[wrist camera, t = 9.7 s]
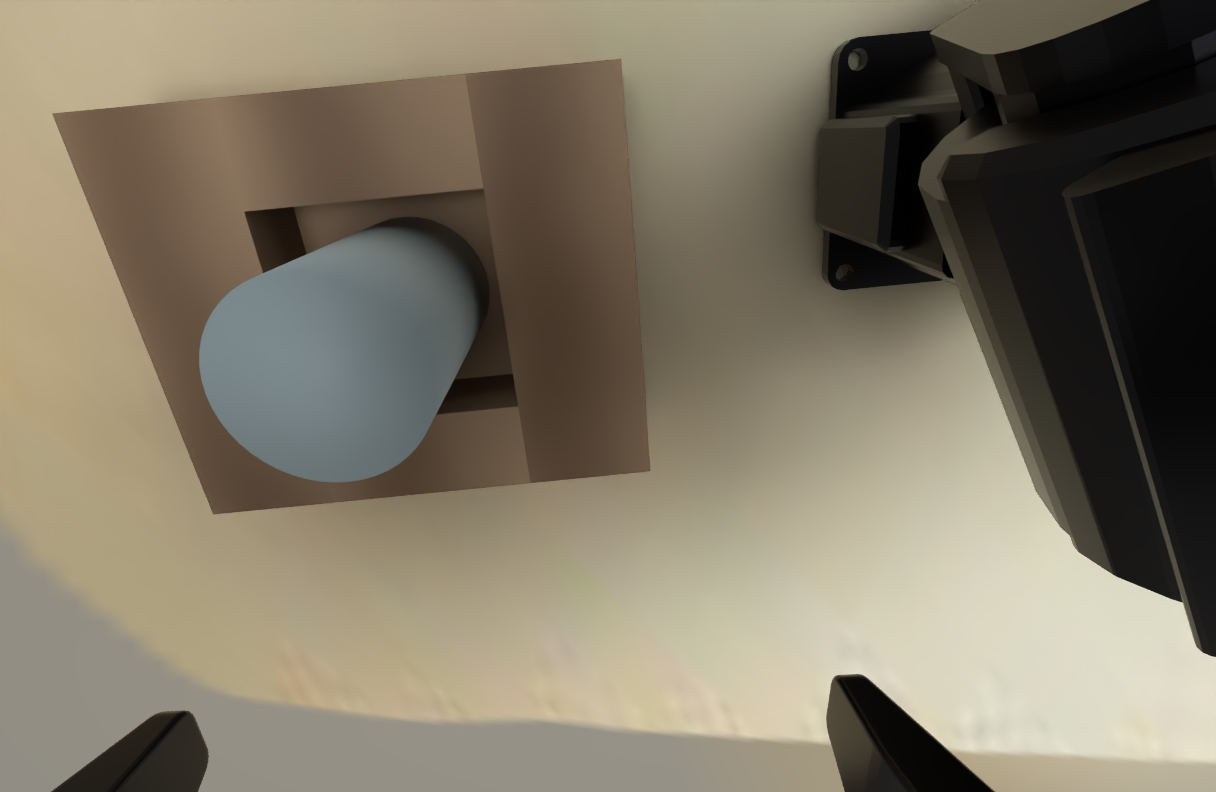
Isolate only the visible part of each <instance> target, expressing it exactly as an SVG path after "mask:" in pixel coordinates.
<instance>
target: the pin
mask: <svg viewBox="0 0 1216 792" xmlns="http://www.w3.org/2000/svg"><path fill="white" fill-rule="evenodd" d="M489 294H490V293H489V283H488V279H487V275H486V272H485V269H484V266H483V264H482V262H481V260H480V259H479V257H478V255H477V254H476V252H475V251H474V249H473V248H472V247H471V246H470V245H469V244H468V242H467V241H466V240H465V239H463V238H462V237H461V236H460V235H459V234H458V233H456V232H455V231H453V230H452V229H450V228H449V227H447V226H445V225H443V224H441V223H438V222H436V221H433V220H430V219H425V218H421V217H397V218H392V219H388V220H385V221H382V222H380V223H378V224H375V225H373V226H371V227H369V228H366V229H364V230H362V231H359V232H357V233H355V234H352V235H350V236H348V237H346V238H343V239H341V240H339V241H336V242H334V243H332V244H329V245H327V246H325V247H323V248H320V249H318V250H316V251H313V252H311V253H309V254H306V255H304V256H302V257H300V258H297V259H295V260H293V261H290V262H288V263H286V264H283V265H281V266H279V267H277V268H274V269H272V270H270V271H267V272H265V273H263V274H260V275H258V276H256V277H254V278H252V279H250V280H248V281H246V282H244V283H242V284H240V285H239V286H237V287H236V288H235V289H233V290H232V291H230V292H229V293H228V294H227V295H226V296H225V297H224V298H223V299H222V300H221V301H220V302H219V304H218V305H217V306H216V308H215V309H214V310H213V312H212V313H211V315H210V317H209V319H208V321H207V323H206V325H205V328H204V331H203V334H202V337H201V343H200V350H199V367H200V374H201V380H202V384H203V387H204V390H205V394H206V396H207V398H208V401H209V403H210V405H211V407H212V409H213V411H214V412H215V414H216V416H217V417H218V419H219V421H220V422H221V423H222V425H223V426H224V427H225V428H226V430H227V431H228V432H229V433H230V434H231V435H232V437H233V438H234V439H235V440H236V441H237V442H238V443H239V444H240V445H242V446H243V447H244V448H245V449H246V450H248V451H249V452H250V453H251V454H253V455H254V456H256V457H257V458H259V459H260V460H262V461H263V462H265V463H267V464H269V465H271V466H273V467H274V468H276V469H278V470H281V471H283V472H286V473H288V474H291V475H294V476H297V477H301V478H304V479H309V480H315V481H321V482H351V481H358V480H363V479H367V478H370V477H374V476H377V475H379V474H381V473H384V472H386V471H388V470H390V469H392V468H393V467H395V466H397V465H398V464H400V463H401V462H402V461H403V460H405V459H406V458H407V457H408V456H409V455H410V454H411V453H412V452H413V451H414V450H415V449H416V448H417V447H418V445H419V444H420V442H421V441H422V439H423V438H424V437H425V435H426V433H427V431H428V429H429V427H430V425H431V423H432V421H433V419H434V417H435V415H436V413H437V411H438V409H439V408H440V406H441V404H442V402H443V400H444V398H445V396H446V394H447V392H448V390H449V388H450V386H451V384H452V382H453V380H454V379H455V377H456V375H457V373H458V371H459V369H460V367H461V365H462V363H463V361H464V359H465V357H466V355H467V353H468V352H469V350H470V348H471V346H472V344H473V342H474V340H475V338H476V336H477V334H478V332H479V330H480V328H481V326H482V324H483V322H484V320H485V318H486V314H487V311H488V306H489Z"/></svg>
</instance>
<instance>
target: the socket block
mask: <svg viewBox="0 0 1216 792" xmlns="http://www.w3.org/2000/svg"><path fill="white" fill-rule="evenodd" d="M53 117H54V119H55V122H56V124H57V127H58V129H59V132H60V134H61V137H62V139H63V142H64V144H65V147H66V149H67V152H68V154H69V157H70V159H71V161H72V164H73V166H74V169H75V171H76V174H77V176H78V179H79V181H80V184H81V186H82V189H83V191H84V194H85V196H86V199H87V201H88V204H89V206H90V209H91V211H92V214H93V216H94V219H95V221H96V224H97V226H98V229H99V231H100V234H101V236H102V239H103V241H104V244H105V246H106V249H107V251H108V254H109V256H110V259H111V261H112V263H113V266H114V268H115V271H116V273H117V276H118V278H119V281H120V283H121V286H122V288H123V291H124V293H125V296H126V298H127V301H128V303H129V306H130V308H131V311H132V313H133V316H134V318H135V321H136V323H137V326H138V328H139V331H140V333H141V336H142V338H143V341H144V343H145V346H146V348H147V351H148V353H149V356H150V358H151V361H152V363H153V365H154V368H155V370H156V373H157V375H158V378H159V380H160V383H161V385H162V388H163V390H164V393H165V395H166V398H167V400H168V403H169V405H170V408H171V410H172V413H173V415H174V418H175V420H176V423H177V425H178V428H179V430H180V433H181V435H182V438H183V440H184V443H185V445H186V448H187V450H188V453H189V455H190V458H191V460H192V463H193V465H194V468H195V470H196V472H197V475H198V477H199V480H200V482H201V485H202V487H203V490H204V492H205V495H206V497H207V500H208V502H209V505H210V507H211V510H212V512H213V514H222V513H232V512H242V511H252V510H262V509H272V508H282V507H293V506H303V505H313V504H323V503H333V502H343V501H353V500H363V499H373V498H384V497H394V496H404V495H414V494H424V493H434V492H444V491H454V490H464V489H474V488H485V487H495V486H505V485H515V484H525V483H535V482H545V481H555V480H565V479H575V478H586V477H596V476H606V475H616V474H626V473H636V472H646V471H650V460H649V446H648V432H647V418H646V404H645V390H644V376H643V362H642V348H641V334H640V320H639V306H638V291H637V277H636V263H635V249H634V235H633V221H632V207H631V193H630V179H629V165H628V151H627V137H626V123H625V109H624V95H623V81H622V66H621V59H616V60H605V61H595V62H585V63H574V64H564V65H553V66H543V67H533V68H522V69H512V70H501V71H491V72H480V73H470V74H460V75H449V76H439V77H428V78H418V79H408V80H397V81H387V82H376V83H366V84H356V85H345V86H335V87H324V88H314V89H304V90H293V91H283V92H272V93H262V94H252V95H241V96H231V97H220V98H210V99H200V100H189V101H179V102H168V103H158V104H147V105H137V106H127V107H116V108H106V109H95V110H85V111H75V112H64V113H54V114H53ZM397 217H421V218H425V219H430V220H433V221H436V222H438V223H441V224H443V225H445V226H447V227H449V228H450V229H452V230H453V231H455V232H456V233H458V234H459V235H460V236H461V237H462V238H463V239H465V240H466V241H467V242H468V244H469V245H470V246H471V247H472V248H473V249H474V251H475V252H476V254H477V255H478V257H479V259H480V260H481V262H482V264H483V266H484V269H485V272H486V275H487V279H488V283H489V293H490V294H489V306H488V311H487V314H486V318H485V320H484V322H483V324H482V326H481V328H480V330H479V332H478V334H477V336H476V338H475V340H474V342H473V344H472V346H471V348H470V350H469V352H468V353H467V355H466V357H465V359H464V361H463V363H462V365H461V367H460V369H459V371H458V373H457V375H456V377H455V379H454V380H453V382H452V384H451V386H450V388H449V390H448V392H447V394H446V396H445V398H444V400H443V402H442V404H441V406H440V408H439V409H438V411H437V413H436V415H435V417H434V419H433V421H432V423H431V425H430V427H429V429H428V431H427V433H426V435H425V437H424V438H423V439H422V441H421V442H420V444H419V445H418V447H417V448H416V449H415V450H414V451H413V452H412V453H411V454H410V455H409V456H408V457H407V458H406V459H405V460H403V461H402V462H401V463H400V464H398V465H397V466H395V467H393V468H392V469H390V470H388V471H386V472H384V473H381V474H379V475H377V476H374V477H370V478H367V479H363V480H358V481H351V482H321V481H315V480H309V479H304V478H301V477H297V476H294V475H291V474H288V473H286V472H283V471H281V470H278V469H276V468H274V467H273V466H271V465H269V464H267V463H265V462H263V461H262V460H260V459H259V458H257V457H256V456H254V455H253V454H251V453H250V452H249V451H248V450H246V449H245V448H244V447H243V446H242V445H240V444H239V443H238V442H237V441H236V440H235V439H234V438H233V437H232V435H231V434H230V433H229V432H228V431H227V430H226V428H225V427H224V426H223V425H222V423H221V422H220V421H219V419H218V417H217V416H216V414H215V412H214V411H213V409H212V407H211V405H210V403H209V401H208V398H207V396H206V394H205V390H204V387H203V384H202V380H201V374H200V367H199V350H200V343H201V337H202V334H203V331H204V328H205V325H206V323H207V321H208V319H209V317H210V315H211V313H212V312H213V310H214V309H215V308H216V306H217V305H218V304H219V302H220V301H221V300H222V299H223V298H224V297H225V296H226V295H227V294H228V293H229V292H230V291H232V290H233V289H235V288H236V287H237V286H239V285H240V284H242V283H244V282H246V281H248V280H250V279H252V278H254V277H256V276H258V275H260V274H263V273H265V272H267V271H270V270H272V269H274V268H277V267H279V266H281V265H283V264H286V263H288V262H290V261H293V260H295V259H297V258H300V257H302V256H304V255H306V254H309V253H311V252H313V251H316V250H318V249H320V248H323V247H325V246H327V245H329V244H332V243H334V242H336V241H339V240H341V239H343V238H346V237H348V236H350V235H352V234H355V233H357V232H359V231H362V230H364V229H366V228H369V227H371V226H373V225H375V224H378V223H380V222H382V221H385V220H388V219H392V218H397Z"/></svg>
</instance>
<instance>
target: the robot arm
mask: <svg viewBox="0 0 1216 792" xmlns="http://www.w3.org/2000/svg"><path fill="white" fill-rule="evenodd" d="M853 50H854V51H857V52H858V53H859V54H860V56H861V63H860V66H859V67H858V68H857V70H856V71H855V70H852V69H851V68H850V67H849V65H848V57H849V54H850V53H851V52H852V51H853ZM816 221H817V223H818V224H819V225H820V226H821V227H822V228H823V229H824V251H823V278H824V280H825V281H826V283H827V284H829V285H831V286H832V287H834V288H836V289H839V290H848V289H859V288H869V287H879V286H889V285H900V284H910V283H920V282H930V281H940V280H945V281H948V282H950V283H953V284H955V285H957V287H958V290H959V292H960V295H961V298H962V300H963V303H964V305H965V308H966V311H967V313H968V316H969V318H970V321H971V324H972V326H973V329H974V331H975V334H976V337H977V339H978V342H979V344H980V347H981V350H982V352H983V355H984V357H985V360H986V362H987V365H988V368H989V370H990V373H991V375H992V378H993V381H994V383H995V386H996V388H997V391H998V394H999V396H1000V399H1001V401H1002V404H1003V407H1004V409H1005V412H1006V414H1007V417H1008V420H1009V422H1010V425H1011V427H1012V430H1013V432H1014V435H1015V438H1016V440H1017V443H1018V445H1019V448H1020V451H1021V453H1022V456H1023V458H1024V461H1025V464H1026V466H1027V469H1028V471H1029V474H1030V477H1031V479H1032V482H1033V484H1034V487H1035V490H1036V492H1037V494H1038V495H1039V496H1040V498H1041V499H1042V501H1043V502H1044V504H1045V505H1046V507H1047V508H1048V510H1049V511H1050V513H1051V514H1052V515H1053V517H1054V518H1055V520H1056V521H1057V523H1058V524H1059V526H1060V527H1061V528H1062V529H1063V530H1064V531H1065V532H1067V533H1068V534H1069V535H1070V537H1071V540H1072V543H1073V545H1074V547H1075V548H1076V549H1077V551H1078V552H1079V553H1081V554H1082V555H1084V556H1085V557H1087V558H1089V559H1090V560H1092V561H1093V562H1095V563H1096V564H1098V565H1099V566H1101V567H1102V568H1104V569H1105V570H1107V571H1108V572H1110V573H1112V574H1113V575H1115V576H1117V577H1119V578H1121V579H1124V580H1126V581H1129V582H1131V583H1134V584H1136V585H1138V586H1141V587H1143V588H1146V589H1148V590H1151V591H1153V592H1156V593H1158V594H1160V595H1163V596H1165V597H1168V598H1170V599H1173V600H1176V601H1180V602H1183V604H1184V608H1185V611H1186V614H1187V618H1188V621H1189V625H1190V628H1191V631H1192V635H1193V638H1194V641H1195V644H1196V646H1197V648H1199V649H1200V650H1201V651H1202V652H1203V653H1205V654H1208V655H1210V656H1214V657H1216V0H979V1H978V2H976V3H974V4H973V5H971V6H970V7H968V8H966V9H965V10H963V11H962V12H960V13H959V14H957V15H955V16H954V17H952V18H951V19H949V20H948V21H946V22H944V23H943V24H941V25H940V26H938V27H937V28H935V29H934V30H929V31H919V32H908V33H898V34H888V35H877V36H867V37H858V38H855V39H852V40H849V41H846V42H844V43H843V44H842V45H841V46H840V47H839V48H838V49H837V51H836V53H835V54H834V58H833V63H832V82H831V103H830V120H828V121H827V122H826V124H825V125H824V126H823V127H822V128H821V130H820V141H819V165H818V189H817V212H816ZM844 264H846V265H847V267H848V271H847V274H846V275H845V276H844V277H843V278H840V279H837V278H836V271H837V269H838V268H839V267H840V266H841V265H844ZM826 720H827V729H828V734H829V738H830V741H831V745H832V748H833V752H834V755H835V758H836V762H837V766H838V769H839V773H840V776H841V780H842V783H843V787H844V791H845V792H995V791H994V790H993V789H991V788H990V787H989V786H988V785H987V784H986V783H985V782H983V781H982V780H981V779H980V778H979V777H978V776H977V775H976V774H975V773H973V772H972V771H971V770H970V769H969V768H968V767H967V766H966V765H965V764H963V763H962V762H961V761H960V760H959V759H958V758H957V757H956V756H954V755H953V754H952V753H951V752H950V751H949V750H948V749H947V748H945V747H944V746H943V745H942V744H941V743H940V742H939V741H938V740H936V739H935V738H934V737H933V736H932V735H931V734H930V733H929V732H928V731H926V730H925V729H924V728H923V727H922V726H921V725H920V724H919V723H917V722H916V721H915V720H914V719H913V718H912V717H911V716H910V715H908V714H907V713H906V712H905V711H904V710H903V709H902V708H901V707H899V706H898V705H897V704H896V703H895V702H894V701H893V700H892V699H891V698H889V697H888V696H887V695H886V694H885V693H884V692H883V691H882V690H880V689H879V688H878V687H877V686H876V685H875V684H874V683H873V682H871V681H870V680H869V679H868V678H867V677H865V676H863V675H861V674H850V675H837V676H835V677H834V678H833V680H832V683H831V689H830V695H829V702H828V709H827V717H826ZM208 757H209V756H208V748H207V746H206V744H205V741H204V738H203V736H202V734H201V731H200V729H199V727H198V724H197V722H196V719H195V717H194V716H193V714H191V713H190V712H189V711H167V712H160V713H157V714H155V715H153V716H152V717H150V718H149V719H147V720H146V721H145V722H143V723H142V724H141V725H139V726H138V727H137V728H135V729H134V730H133V731H131V732H130V733H129V734H127V735H126V736H125V737H123V738H122V739H121V740H119V741H118V742H117V743H115V744H114V745H113V746H111V747H110V748H109V749H107V750H106V751H105V752H103V753H102V754H101V755H99V756H98V757H97V758H95V759H94V760H93V761H91V762H90V763H89V764H87V765H86V766H85V767H83V768H82V769H81V770H79V771H78V772H77V773H75V774H74V775H73V776H71V777H70V778H69V779H67V780H66V781H65V782H63V783H62V784H61V785H60V786H58V787H57V788H55V789H54V790H53V791H52V792H198V790H199V787H200V785H201V782H202V780H203V777H204V774H205V772H206V768H207V764H208Z"/></svg>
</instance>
